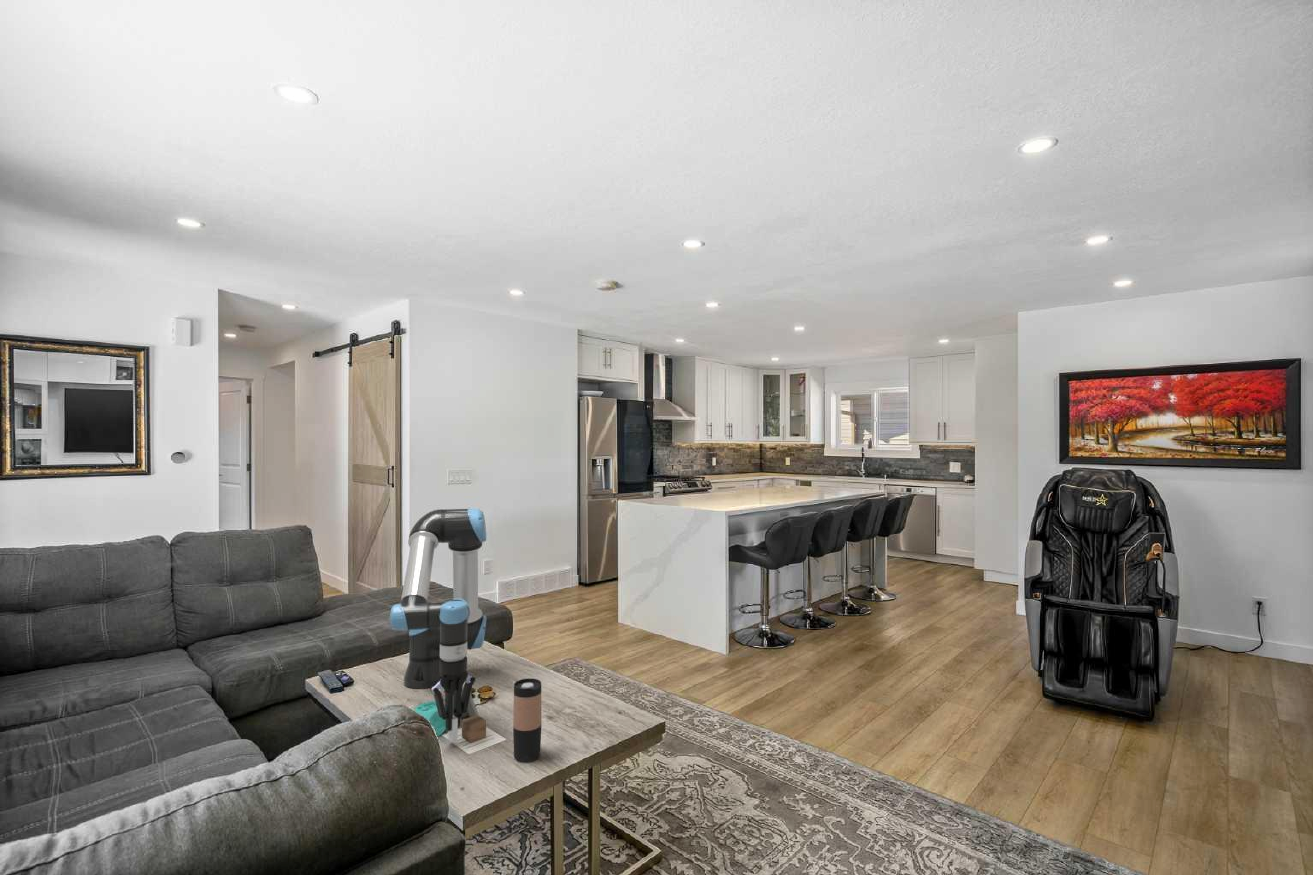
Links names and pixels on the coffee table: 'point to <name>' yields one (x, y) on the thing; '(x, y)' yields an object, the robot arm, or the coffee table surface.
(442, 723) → the decorative dice
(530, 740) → the travel mug
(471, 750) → the letter
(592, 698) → the coffee table surface
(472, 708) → the grey angular piece
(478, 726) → the walnut block
